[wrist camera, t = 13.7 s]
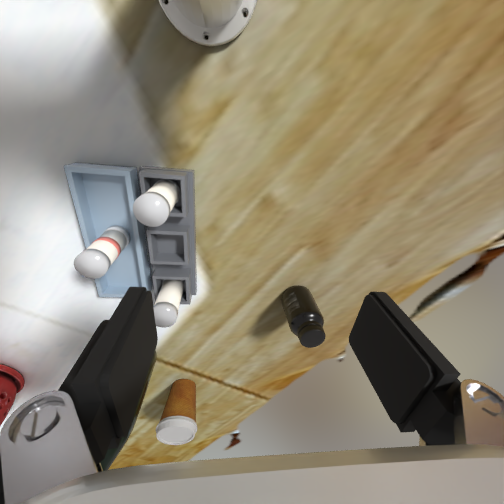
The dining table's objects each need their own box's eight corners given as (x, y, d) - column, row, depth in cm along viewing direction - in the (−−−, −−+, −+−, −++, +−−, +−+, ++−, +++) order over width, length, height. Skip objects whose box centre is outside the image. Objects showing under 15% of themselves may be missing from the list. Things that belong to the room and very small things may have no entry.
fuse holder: (142, 166, 38) (132, 171, 34) (194, 170, 39) (190, 175, 35) (157, 289, 49) (151, 304, 45) (196, 290, 50) (194, 304, 46)
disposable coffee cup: (160, 390, 66) (147, 441, 55) (176, 370, 62) (166, 421, 52) (190, 399, 69) (184, 448, 58) (208, 381, 66) (204, 430, 55)
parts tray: (75, 162, 37) (63, 165, 34) (136, 167, 38) (129, 170, 35) (106, 287, 48) (99, 297, 45) (152, 288, 49) (148, 297, 47)
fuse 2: (163, 272, 46) (147, 307, 37) (185, 272, 46) (175, 308, 38) (164, 289, 48) (150, 327, 39) (186, 290, 48) (176, 327, 40)
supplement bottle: (284, 311, 55) (297, 355, 45) (278, 289, 52) (290, 331, 42) (312, 303, 55) (332, 346, 45) (308, 280, 52) (329, 321, 41)
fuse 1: (153, 176, 37) (130, 193, 29) (180, 178, 38) (166, 195, 29) (156, 202, 39) (135, 225, 30) (182, 204, 40) (169, 227, 31)
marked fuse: (103, 224, 41) (70, 253, 32) (128, 225, 42) (102, 254, 33) (108, 246, 43) (78, 278, 34) (132, 246, 44) (109, 278, 35)
